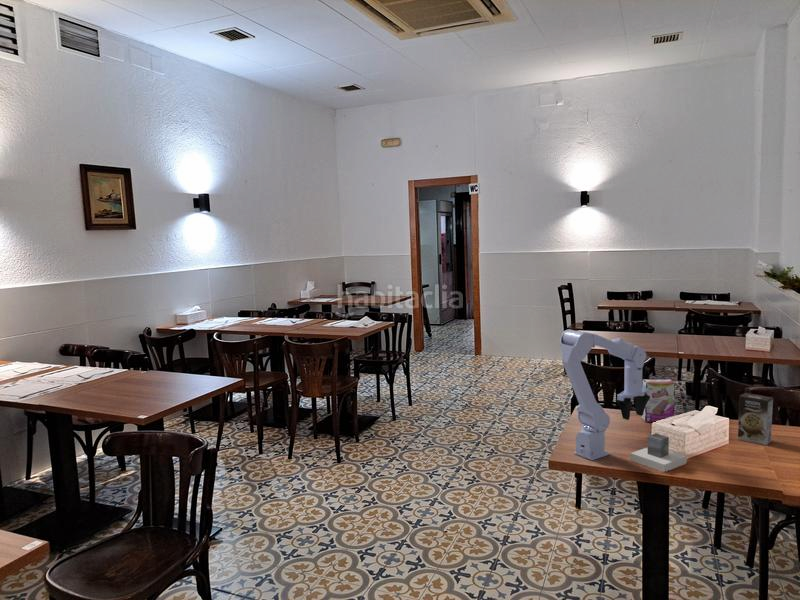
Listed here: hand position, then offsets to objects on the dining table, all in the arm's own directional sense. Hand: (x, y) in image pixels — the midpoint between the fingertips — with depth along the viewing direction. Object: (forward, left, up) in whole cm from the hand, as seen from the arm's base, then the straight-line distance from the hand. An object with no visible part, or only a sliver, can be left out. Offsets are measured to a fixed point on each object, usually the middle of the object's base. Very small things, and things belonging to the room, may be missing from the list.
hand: (632, 417), depth 198 cm
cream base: (-6, -14, -10) cm, 18 cm away
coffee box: (+38, -22, -11) cm, 45 cm away
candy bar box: (+31, +11, -11) cm, 35 cm away
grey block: (-6, -14, -8) cm, 17 cm away
